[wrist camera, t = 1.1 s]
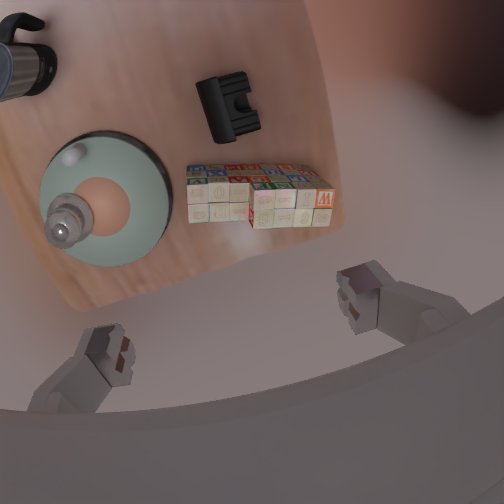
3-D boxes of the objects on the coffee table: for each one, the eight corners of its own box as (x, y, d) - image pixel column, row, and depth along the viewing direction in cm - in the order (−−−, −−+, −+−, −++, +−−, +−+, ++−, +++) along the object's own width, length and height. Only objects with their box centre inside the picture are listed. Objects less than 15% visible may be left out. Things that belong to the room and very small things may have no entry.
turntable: (25, 163, 39) (7, 176, 33) (148, 116, 41) (142, 122, 35) (73, 273, 52) (64, 294, 47) (184, 245, 54) (184, 266, 49)
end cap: (194, 82, 41) (195, 83, 35) (238, 70, 41) (245, 68, 35) (212, 138, 46) (216, 147, 41) (254, 125, 47) (263, 133, 41)
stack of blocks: (187, 199, 51) (188, 233, 41) (186, 165, 48) (186, 191, 38) (303, 196, 56) (330, 227, 45) (307, 164, 52) (337, 189, 42)
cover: (42, 201, 42) (27, 217, 37) (83, 186, 42) (71, 201, 37) (61, 244, 47) (50, 263, 42) (101, 232, 48) (92, 251, 43)
